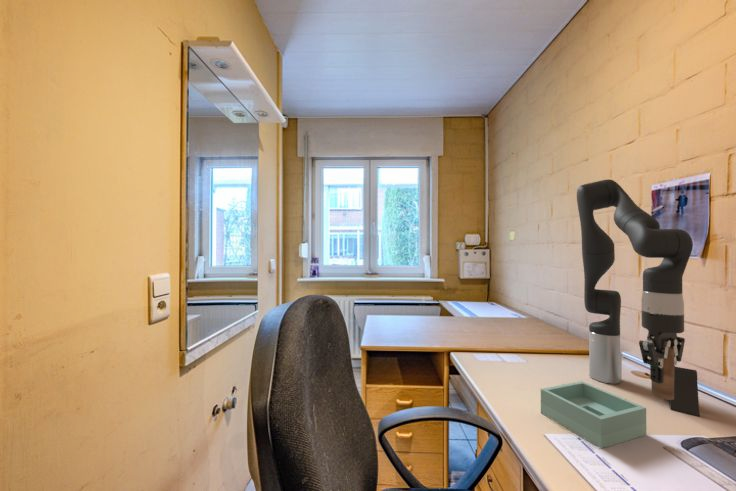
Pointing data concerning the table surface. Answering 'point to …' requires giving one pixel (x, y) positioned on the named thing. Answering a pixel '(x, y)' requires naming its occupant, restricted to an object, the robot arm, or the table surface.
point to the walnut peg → (665, 378)
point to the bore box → (594, 413)
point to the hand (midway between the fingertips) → (662, 380)
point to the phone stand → (685, 392)
